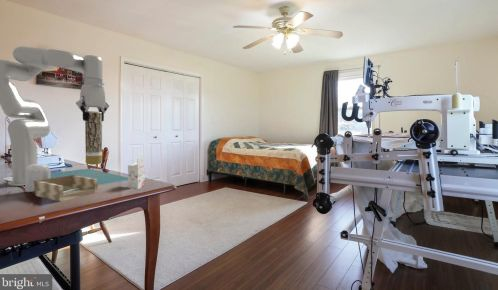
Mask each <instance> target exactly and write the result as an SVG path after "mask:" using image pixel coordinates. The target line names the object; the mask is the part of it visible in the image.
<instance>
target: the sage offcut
mask: <svg viewBox="0 0 498 290" xmlns="http://www.w3.org/2000/svg"><path fill="white" fill-rule="evenodd" d="M78 190H80V188H74V189H68V190H63V194H64V193H69V192H73V191H78Z"/></svg>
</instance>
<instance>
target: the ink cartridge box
mask: <svg viewBox="0 0 498 290" xmlns="http://www.w3.org/2000/svg"><path fill="white" fill-rule="evenodd" d="M145 167H146V163H145V157H140V158H138V159H136V162H134V163H131V164H128V165H127V179H128V180H127V181H128V182H127V183H128V185H127V187H128V189H133V190H139V189H141V188H143V187H144V186H145V177H146V176H145V173H146V172H145Z"/></svg>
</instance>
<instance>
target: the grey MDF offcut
mask: <svg viewBox="0 0 498 290" xmlns="http://www.w3.org/2000/svg"><path fill="white" fill-rule="evenodd" d="M83 190H88V189H82V190H78V191H73V192H69V193H64V194H63V195H65V194H70V193H74V192H79V191H83Z"/></svg>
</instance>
